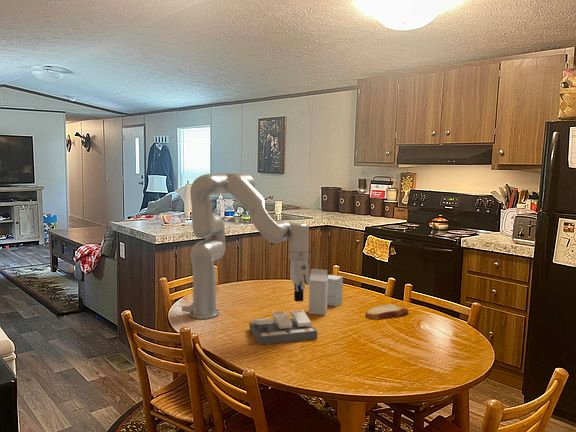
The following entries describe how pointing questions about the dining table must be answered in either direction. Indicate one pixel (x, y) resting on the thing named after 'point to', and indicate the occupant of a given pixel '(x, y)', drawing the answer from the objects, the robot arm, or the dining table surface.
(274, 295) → the dining table surface
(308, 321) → the switch right
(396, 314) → the slice of bread
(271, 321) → the switch left
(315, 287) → the milk carton
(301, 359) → the dining table surface
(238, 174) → the robot arm
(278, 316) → the switch middle
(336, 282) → the supplement box
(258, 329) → the switch unit
